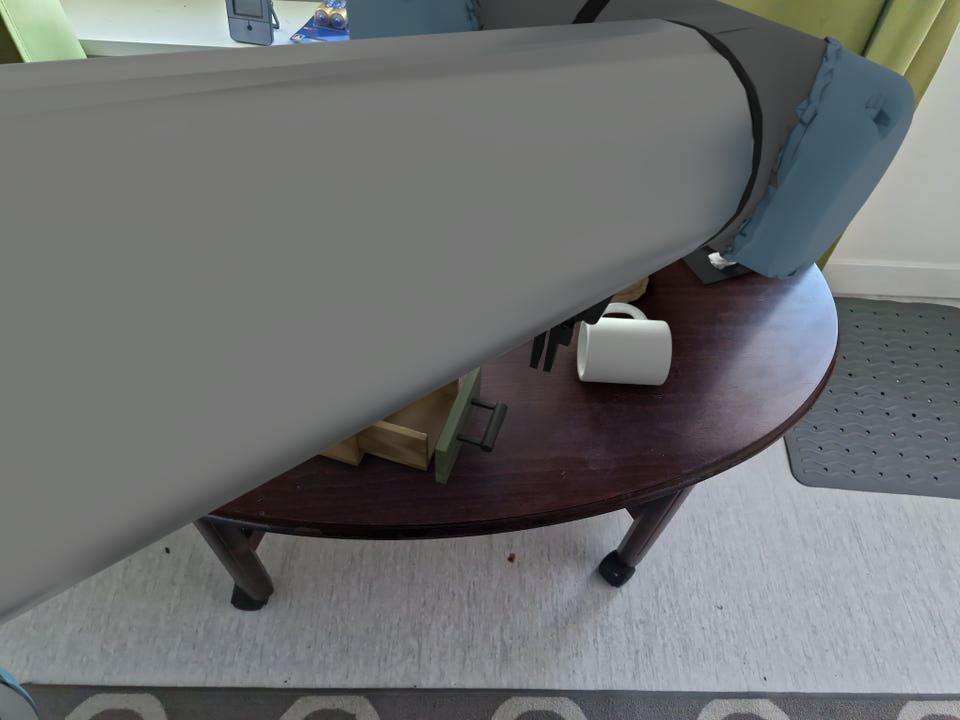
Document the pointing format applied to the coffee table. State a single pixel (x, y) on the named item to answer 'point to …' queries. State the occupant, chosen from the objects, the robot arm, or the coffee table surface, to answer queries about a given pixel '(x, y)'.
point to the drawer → (434, 427)
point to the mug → (624, 349)
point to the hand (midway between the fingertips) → (543, 359)
